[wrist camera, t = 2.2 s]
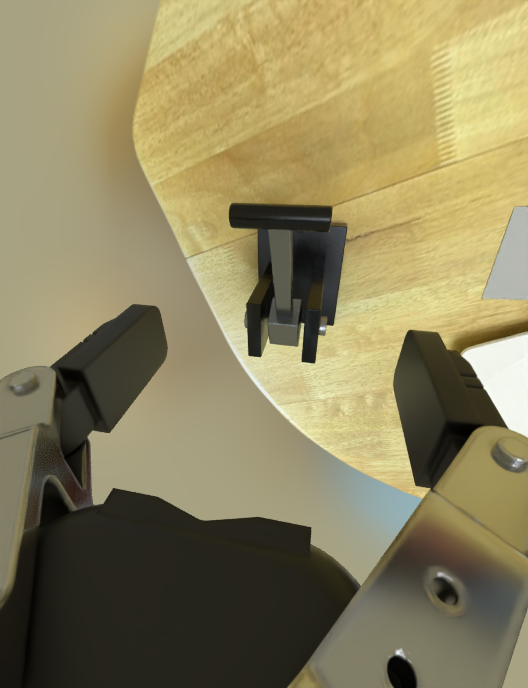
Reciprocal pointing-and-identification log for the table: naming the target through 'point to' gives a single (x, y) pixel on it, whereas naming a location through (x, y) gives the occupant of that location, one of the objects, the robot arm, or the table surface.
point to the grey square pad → (511, 261)
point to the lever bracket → (299, 286)
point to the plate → (504, 376)
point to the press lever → (282, 256)
